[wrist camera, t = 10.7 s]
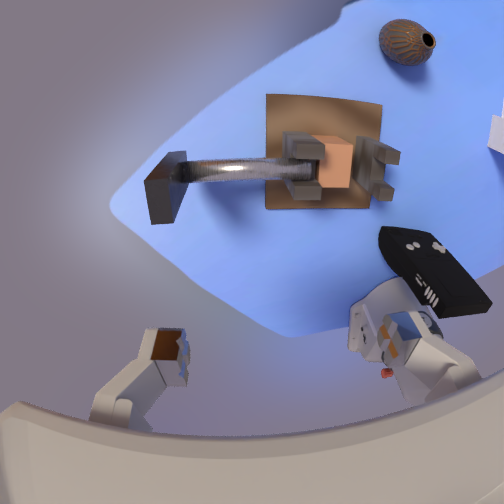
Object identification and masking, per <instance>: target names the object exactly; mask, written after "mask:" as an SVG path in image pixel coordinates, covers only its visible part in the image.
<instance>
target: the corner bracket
mask: <svg viewBox="0 0 504 504" xmlns="http://www.w3.org/2000/svg"><path fill="white" fill-rule="evenodd" d="M488 147H490V148H492V149H494V150H496V151H498V152H500V153H502V154H504V101H503V110H502V117H499V116H496V115H493V116H492V123H491V130H490V136H489V141H488Z"/></svg>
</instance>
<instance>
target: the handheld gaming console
mask: <svg viewBox="0 0 504 504" xmlns="http://www.w3.org/2000/svg"><path fill="white" fill-rule="evenodd" d="M378 240H379V248H380V250H381V253H382V255H383V257H384V259H385V260H386V262H387V264H388V265H389V266H390V267H391V269H392V270H393V271H394V272H395V273H396V274H397V275H398V276H400V277H403V278H402V279H403V280H405V282H406V283H407V285H408V286H409V288H410V289H411V291H412V292H413V293H414V295H415V296H416V298H417V299H418V301H419V303H420V304H421V306H426V305H430V306H431V308H432V309H433V311H434V312H435V314H436V315H437V317H438V318H439V319H442V318H449V317H457V316H464V315H472V314H480V313H486V312H487V311H488V310H489V308H490V307H491V305H492V301H491V300H490V299H489V298H488V296H487V295H486V294H485V293H484V292H483V290H482V289H481V288H480V287H479V285H478V284H477V283H476V282H475V281H474V279H473V278H472V277H471V276H470V275H469V274H468V272H467V271H466V270H465V269H464V268H463V267H462V266H461V265H460V263H459V262H458V261H457V260H456V259H455V258H454V257H453V256H452V255H451V253H450V252H449V251H448V250H447V249H446V248H445V247H444V246H443V245H442V244H441V243H440V242H439V241H438V240H437V239H436V238H435V237H434V236H433V235H432V234H431V233H428V232H424V231H419V230H413V229H406V228H399V227H390V226H382V227H381V230H380V233H379V238H378Z"/></svg>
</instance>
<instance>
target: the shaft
mask: <svg viewBox="0 0 504 504" xmlns="http://www.w3.org/2000/svg"><path fill="white" fill-rule="evenodd" d="M310 177H311V162H310V159H296V158H235V159H214V160H198V161H187V155H186V151H176V152H168V154H167V155H166V156H165V157H164V158H163V159H162V160H161V161H160V162H159V164H158V165H157V166H156V167H155V168H154V169H153V170H152V172H151V173H150V174H149V175H148V176H147V178H146V179H145V180H144V185H145V192H146V198H147V203H148V209H149V215H150V220H151V225H155V224H170V223H174V221H175V218H176V216H177V213H178V210H179V208H180V205H181V203H182V200H183V198H184V195H185V193H186V190H187V188H188V185H189V183H201V182H219V181H243V180H309V179H310Z"/></svg>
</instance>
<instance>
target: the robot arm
mask: <svg viewBox="0 0 504 504" xmlns="http://www.w3.org/2000/svg"><path fill="white" fill-rule="evenodd" d="M402 278H403V277H397V278H393V279H390V280H388V281H386V282H384V283H382V284H380V285H379V286H377V287H376V288H375V289H374V290H372V291H371V292H370V293H369V294H368V295H367V296H366V297H365V298H364V299H362V300H360V301H359V302H357V303H355V304H354V305H352V306H351V308H350V320H349V334H348V349H349V350H350V351H353V352H361V354H362V356H363V358H364V359H365V360H366V361H369V362H384V363H385V365H386V366H387V367H388V368H386V369H382V371H381V375H382V378H387V377H391V376H392V375H393V373H394V375H395V377H396V380H397V382H398V385H399V387H400V390H401V392H402V394H403V397H404V399H405V400H406V401H407V402H408V403H410V404H411V405H414V407H411V408H408V409H405V410H402V411H398V412H395V413H391V414H387V415H384V416H380V417H376V418H372V419H368V420H364V421H359V422H354V423H349V424H345V425H339V426H334V427H328V428H322V429H315V430H308V431H301V432H291V433H282V434H269V435H251V436H197V435H179V434H167V433H157V432H152V430H153V428H152V427H151V426H150V425H149V423H148V422H147V421H146V420H145V418H144V415H145V414H146V413H147V412H148V410H149V409H150V408H151V407H152V405H153V404H154V403H155V402H156V400H157V399H158V398H159V397H160V395H161V394H162V393H163V392H164V390H165V389H166V388H167V387H166V386H174V387H175V386H176V387H187V382H188V374H189V373H188V370H187V366H188V365H189V364H190V346H189V343H188V341H187V340H186V332H185V329H179V328H178V329H177V328H149V327H148V328H147V329H146V330H145V334H144V337H143V341H142V344H141V347H140V351H139V355H138V358H137V359H134V360H133V361H131V362H130V363H129V364H128V365H127V366H126V367H125V368H124V369H123V370H122V371H120V373H118V374H117V375H116V376H115V377H114V378H113V379H112V380H111V381H109V382H108V383H107V384H106V385H105V386H104V387H103V388H102V389H101V390H100V391H99V392H97V393H96V396H95V399H94V402H93V406H92V409H91V413H90V417H89V420H88V421H87V420H83V419H79V418H75V417H72V416H68V415H64V414H61V413H57V412H54V411H51V410H48V409H44V408H42V407H39V406H36V405H33V404H30V403H28V402H24V401H18V402H16V403H14V404H13V405H11V406H10V407H8V408H7V409H6V410H4V411H3V412H2V413H0V504H504V368H503V369H501V370H499V371H497V372H496V373H494V374H492V375H490V376H488V377H486V378H481V376H480V374H479V372H478V370H477V368H476V366H475V365H474V363H473V361H472V359H471V358H469V357H468V356H466V355H465V354H463V353H462V352H460V351H459V350H457V349H456V348H454V347H452V346H451V345H449V344H448V343H446V342H445V341H444V340H443V334H442V332H441V330H440V328H439V327H438V325H437V324H436V322H435V321H434V320H433V318H432V315H431V313H430V311H429V310H428V307H427V305H426V306H421V304H420V303H419V301H418V299H417V298H416V296H415V295H414V293H413V292H412V291H411V289H410V288H409V286H408V285H407V283H406V282H405V280H403V279H402Z"/></svg>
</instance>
